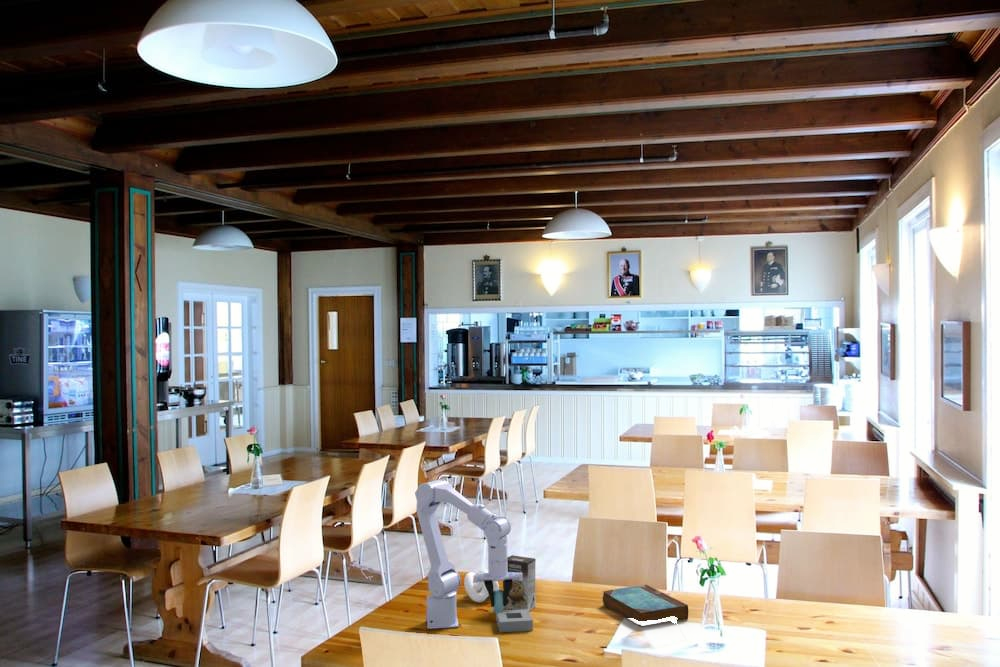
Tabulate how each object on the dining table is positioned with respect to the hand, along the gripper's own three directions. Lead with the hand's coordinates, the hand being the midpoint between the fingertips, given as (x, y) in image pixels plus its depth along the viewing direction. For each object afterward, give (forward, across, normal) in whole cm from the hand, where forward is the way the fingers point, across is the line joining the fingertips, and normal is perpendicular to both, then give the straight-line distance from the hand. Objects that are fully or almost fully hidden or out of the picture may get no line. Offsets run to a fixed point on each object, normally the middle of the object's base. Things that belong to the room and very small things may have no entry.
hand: (498, 605), depth 232 cm
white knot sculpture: (+9, -3, +35) cm, 36 cm away
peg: (+2, 0, 0) cm, 2 cm away
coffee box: (+9, +9, +23) cm, 27 cm away
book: (+10, +48, +14) cm, 51 cm away
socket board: (+9, +6, +8) cm, 13 cm away
